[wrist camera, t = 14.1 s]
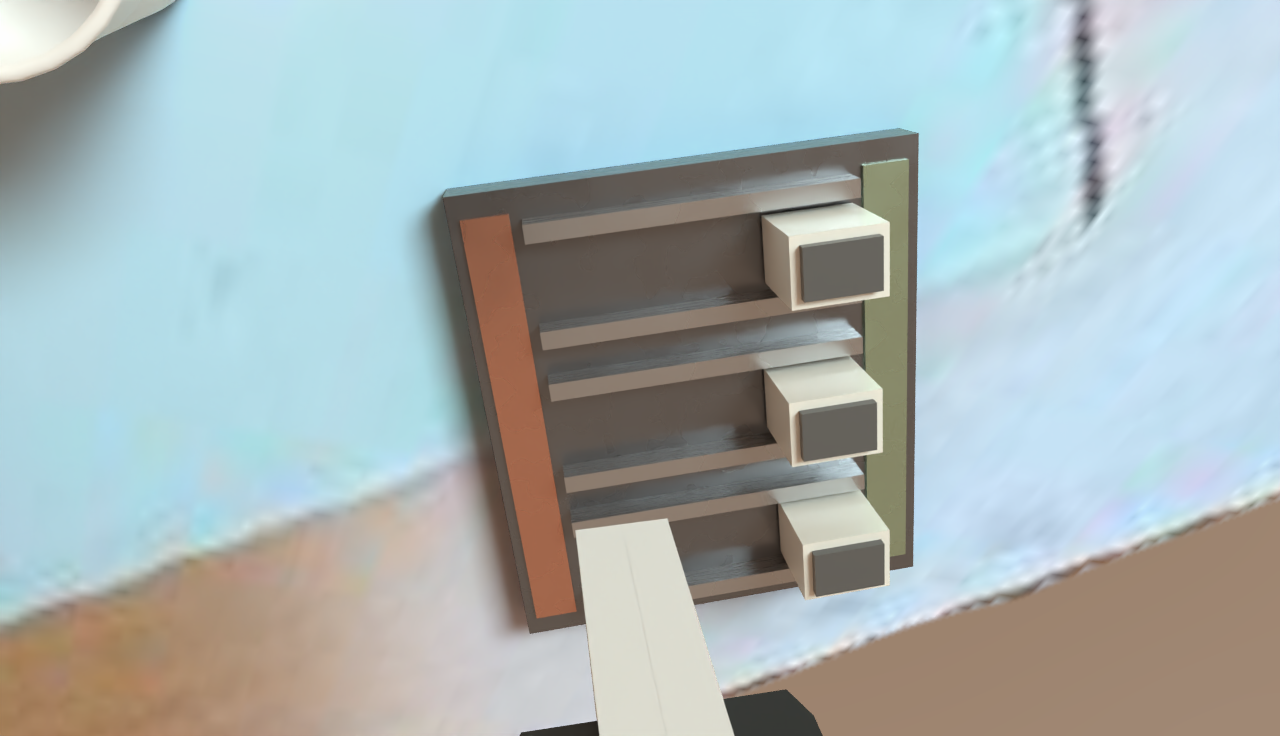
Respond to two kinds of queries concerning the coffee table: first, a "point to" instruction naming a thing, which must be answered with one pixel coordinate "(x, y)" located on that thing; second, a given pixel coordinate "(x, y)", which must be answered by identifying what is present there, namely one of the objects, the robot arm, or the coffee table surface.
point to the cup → (59, 31)
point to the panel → (676, 355)
